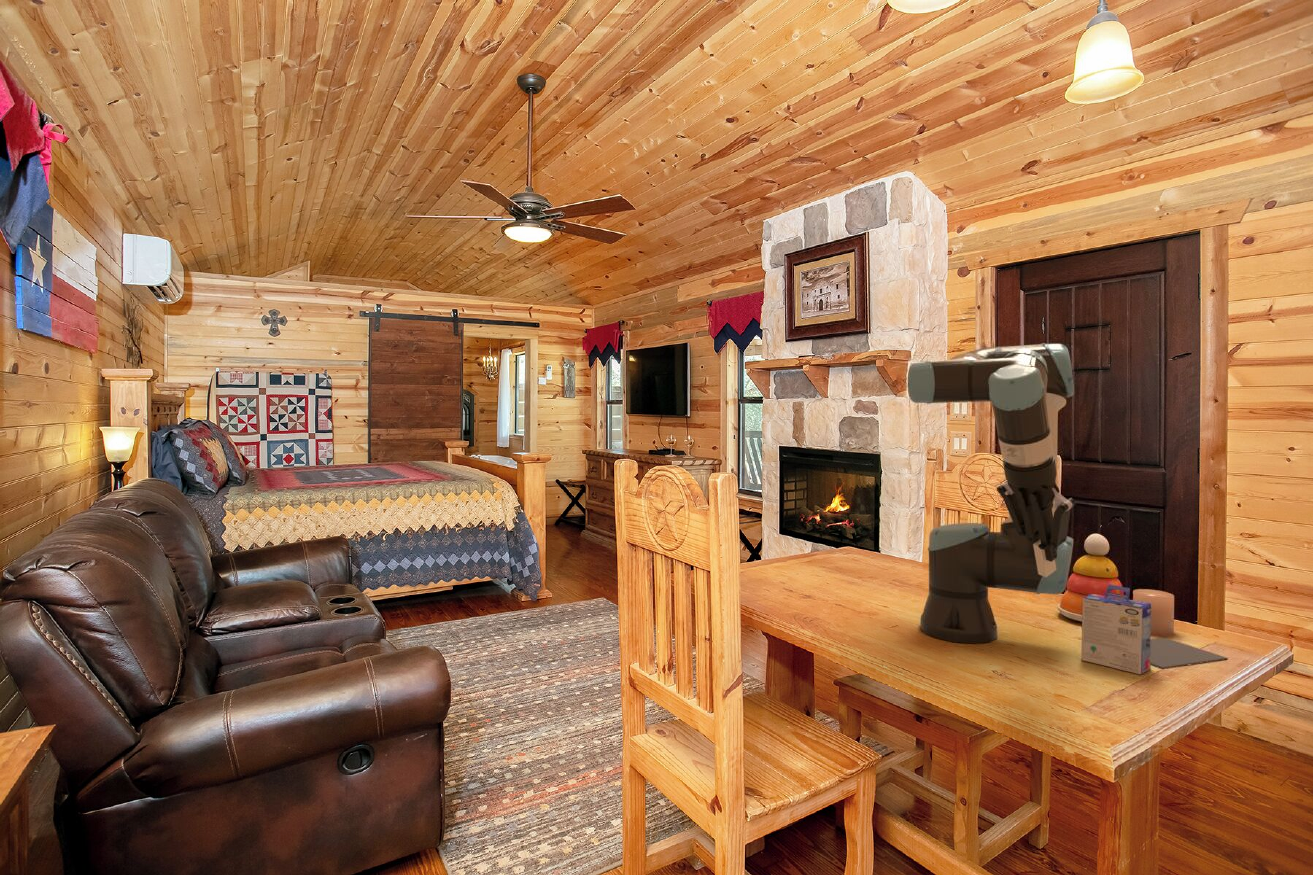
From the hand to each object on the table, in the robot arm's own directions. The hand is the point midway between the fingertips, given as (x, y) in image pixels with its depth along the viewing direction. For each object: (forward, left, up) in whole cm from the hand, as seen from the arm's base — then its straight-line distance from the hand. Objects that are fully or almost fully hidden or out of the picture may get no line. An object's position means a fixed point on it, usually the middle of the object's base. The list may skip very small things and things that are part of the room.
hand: (1047, 571), depth 117 cm
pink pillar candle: (-14, +42, -19) cm, 48 cm away
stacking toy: (-24, +37, -19) cm, 48 cm away
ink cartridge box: (-1, +17, -19) cm, 26 cm away
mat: (-3, +31, -19) cm, 36 cm away
